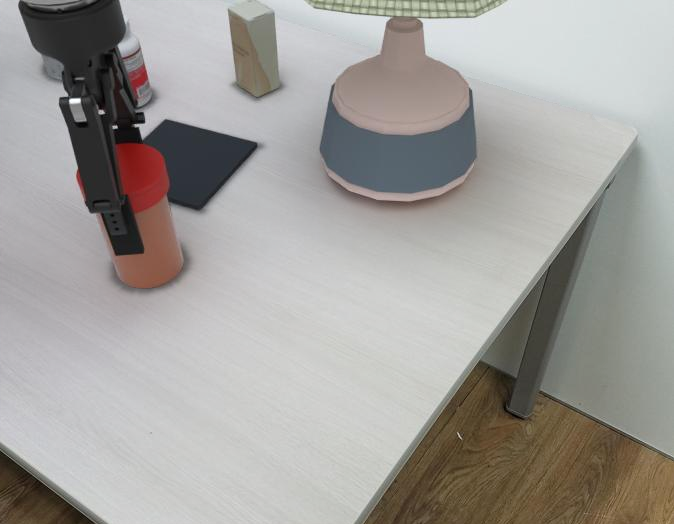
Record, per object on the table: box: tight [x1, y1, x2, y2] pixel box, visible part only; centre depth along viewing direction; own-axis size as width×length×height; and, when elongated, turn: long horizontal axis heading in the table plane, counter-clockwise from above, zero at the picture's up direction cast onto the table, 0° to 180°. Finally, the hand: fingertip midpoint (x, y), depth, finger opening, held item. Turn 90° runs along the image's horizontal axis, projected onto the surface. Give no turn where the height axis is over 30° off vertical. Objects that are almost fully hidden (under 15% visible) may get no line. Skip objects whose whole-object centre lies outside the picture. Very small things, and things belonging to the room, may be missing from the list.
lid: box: [75, 143, 170, 214], centre depth 67 cm, size 8×8×2 cm
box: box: [226, 0, 281, 98], centre depth 95 cm, size 5×4×11 cm
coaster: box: [142, 118, 258, 211], centre depth 88 cm, size 14×14×1 cm
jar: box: [94, 194, 185, 289], centre depth 71 cm, size 7×7×12 cm
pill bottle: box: [118, 14, 153, 108], centre depth 94 cm, size 6×6×11 cm
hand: (135, 216), depth 71 cm, fingers open, 10 cm apart
